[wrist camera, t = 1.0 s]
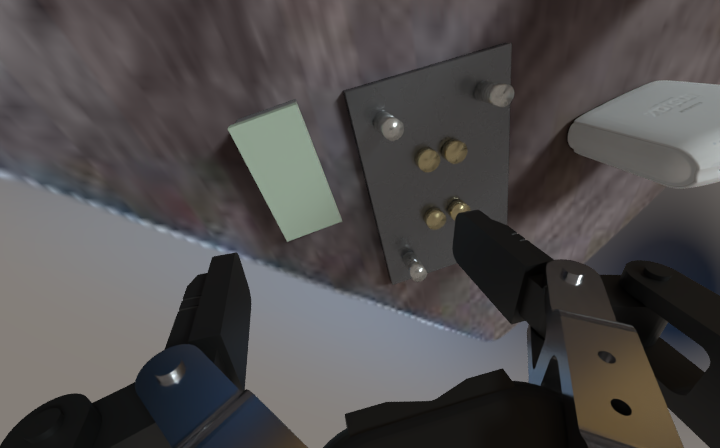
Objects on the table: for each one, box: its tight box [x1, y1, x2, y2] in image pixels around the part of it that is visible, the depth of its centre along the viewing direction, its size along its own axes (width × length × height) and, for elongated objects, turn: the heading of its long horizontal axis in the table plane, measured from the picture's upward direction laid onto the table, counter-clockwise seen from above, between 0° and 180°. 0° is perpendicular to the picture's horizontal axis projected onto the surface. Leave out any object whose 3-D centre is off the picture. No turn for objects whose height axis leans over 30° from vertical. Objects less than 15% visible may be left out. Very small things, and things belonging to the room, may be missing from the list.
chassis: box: [343, 43, 514, 285], centre depth 29 cm, size 14×21×4 cm, turn 14°
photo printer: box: [568, 80, 720, 189], centre depth 26 cm, size 10×4×12 cm, turn 112°
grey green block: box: [228, 99, 342, 242], centre depth 26 cm, size 5×10×4 cm, turn 17°
